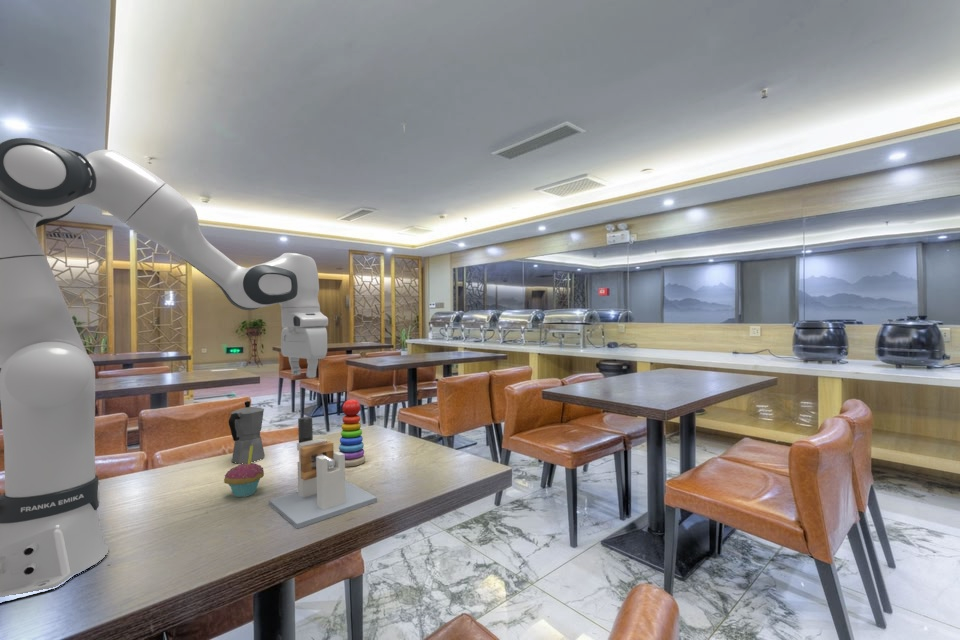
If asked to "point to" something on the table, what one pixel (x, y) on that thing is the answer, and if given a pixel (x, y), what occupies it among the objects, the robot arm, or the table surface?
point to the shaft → (311, 438)
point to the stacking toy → (352, 435)
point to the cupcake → (244, 477)
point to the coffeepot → (246, 433)
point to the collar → (305, 455)
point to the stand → (321, 493)
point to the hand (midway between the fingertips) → (303, 376)
